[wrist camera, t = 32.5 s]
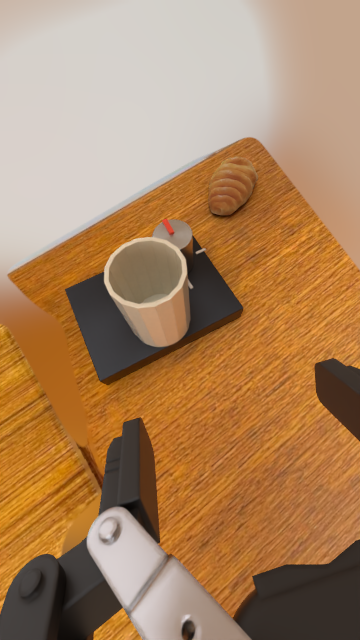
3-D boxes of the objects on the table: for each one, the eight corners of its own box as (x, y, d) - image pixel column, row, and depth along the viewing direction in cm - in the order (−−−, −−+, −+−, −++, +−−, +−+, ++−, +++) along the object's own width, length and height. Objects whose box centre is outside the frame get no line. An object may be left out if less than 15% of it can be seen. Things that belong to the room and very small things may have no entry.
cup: (174, 284, 32) (164, 225, 23) (201, 330, 30) (201, 283, 21) (123, 308, 32) (92, 257, 22) (146, 357, 29) (122, 322, 20)
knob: (199, 269, 33) (199, 239, 28) (166, 282, 32) (161, 255, 27) (184, 244, 35) (182, 212, 30) (153, 256, 34) (146, 226, 29)
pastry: (241, 224, 39) (245, 203, 35) (197, 213, 40) (197, 192, 37) (258, 180, 42) (263, 157, 38) (217, 172, 43) (218, 149, 40)
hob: (190, 239, 38) (189, 226, 36) (242, 315, 33) (246, 306, 30) (71, 294, 36) (62, 283, 33) (107, 385, 30) (99, 381, 28)
